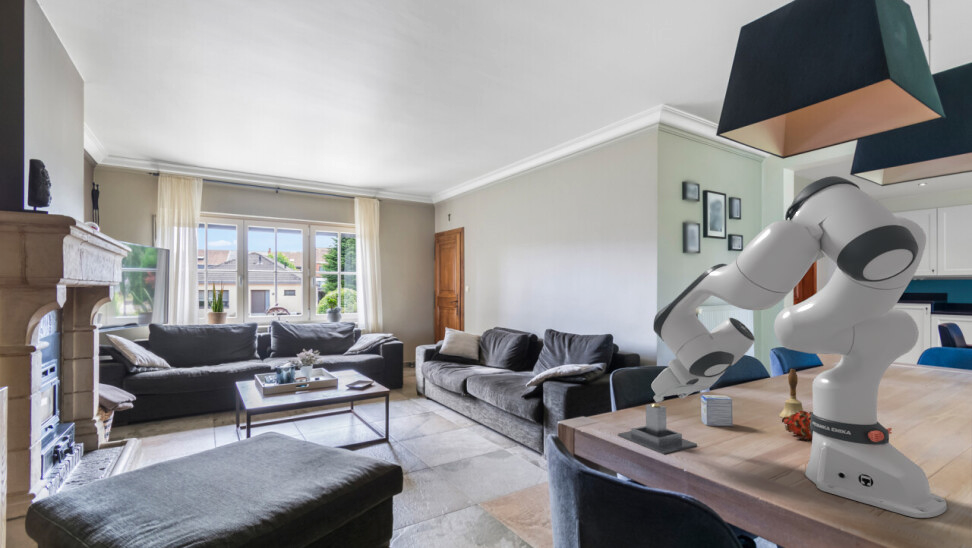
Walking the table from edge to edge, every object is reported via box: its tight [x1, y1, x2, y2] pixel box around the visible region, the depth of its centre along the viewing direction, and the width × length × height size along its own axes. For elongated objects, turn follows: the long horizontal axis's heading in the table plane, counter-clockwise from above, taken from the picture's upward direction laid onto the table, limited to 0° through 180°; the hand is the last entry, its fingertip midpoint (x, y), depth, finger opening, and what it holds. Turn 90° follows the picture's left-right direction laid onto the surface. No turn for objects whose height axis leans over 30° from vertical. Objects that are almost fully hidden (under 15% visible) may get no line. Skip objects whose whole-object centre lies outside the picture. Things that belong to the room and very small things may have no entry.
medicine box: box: [700, 394, 734, 427], centre depth 139 cm, size 8×4×9 cm, turn 84°
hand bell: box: [778, 368, 804, 419], centre depth 147 cm, size 8×8×16 cm
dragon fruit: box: [781, 410, 813, 442], centre depth 126 cm, size 8×8×12 cm
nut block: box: [645, 403, 667, 438], centre depth 123 cm, size 4×4×9 cm
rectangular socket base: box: [617, 425, 698, 455], centre depth 123 cm, size 16×13×3 cm
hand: (668, 398), depth 121 cm, fingers open, 8 cm apart
